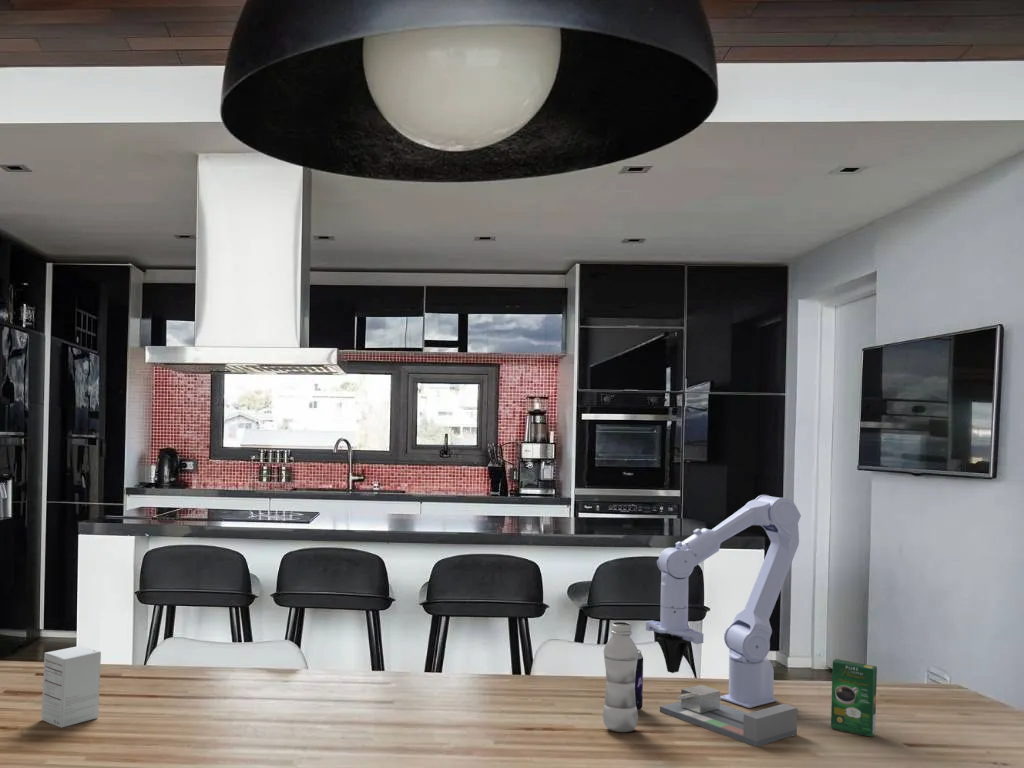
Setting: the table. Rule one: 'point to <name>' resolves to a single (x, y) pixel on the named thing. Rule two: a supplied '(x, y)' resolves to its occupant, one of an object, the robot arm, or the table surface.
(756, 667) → the robot arm
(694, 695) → the slider block with tab
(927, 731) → the table surface
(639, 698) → the beverage can
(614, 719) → the plastic bottle
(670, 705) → the gauge board
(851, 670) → the coffee box
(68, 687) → the supplement box
